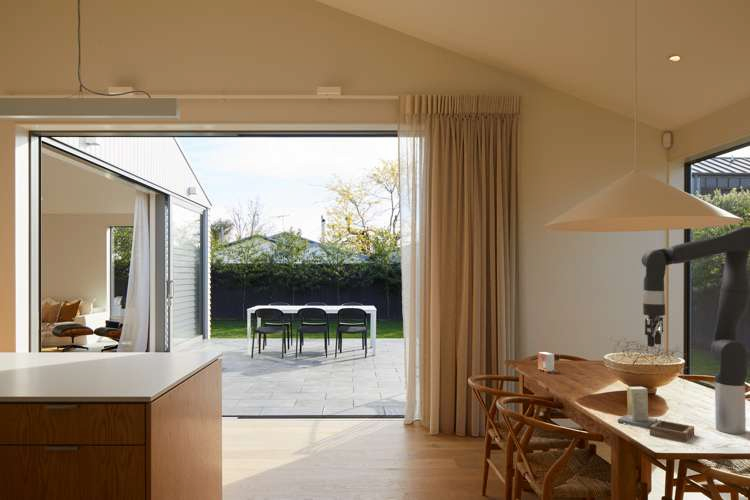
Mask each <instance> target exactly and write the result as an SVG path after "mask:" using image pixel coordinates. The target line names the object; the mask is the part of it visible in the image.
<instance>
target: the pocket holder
mask: <svg viewBox="0 0 750 500" xmlns="http://www.w3.org/2000/svg"><path fill="white" fill-rule="evenodd" d="M649 436H652V437H657V438H662V439H668V440H673V441H676V442H682V443H687V442H688V441H689V440H690V439H692V438H693V437H694V436H695V426H693V425H688V424H682V423H678V422H673V421H672V422H671V421H665V420H661V419H658V421H657V422H656V423H654V424H653V425H651V426H650V428H649Z"/></svg>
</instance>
